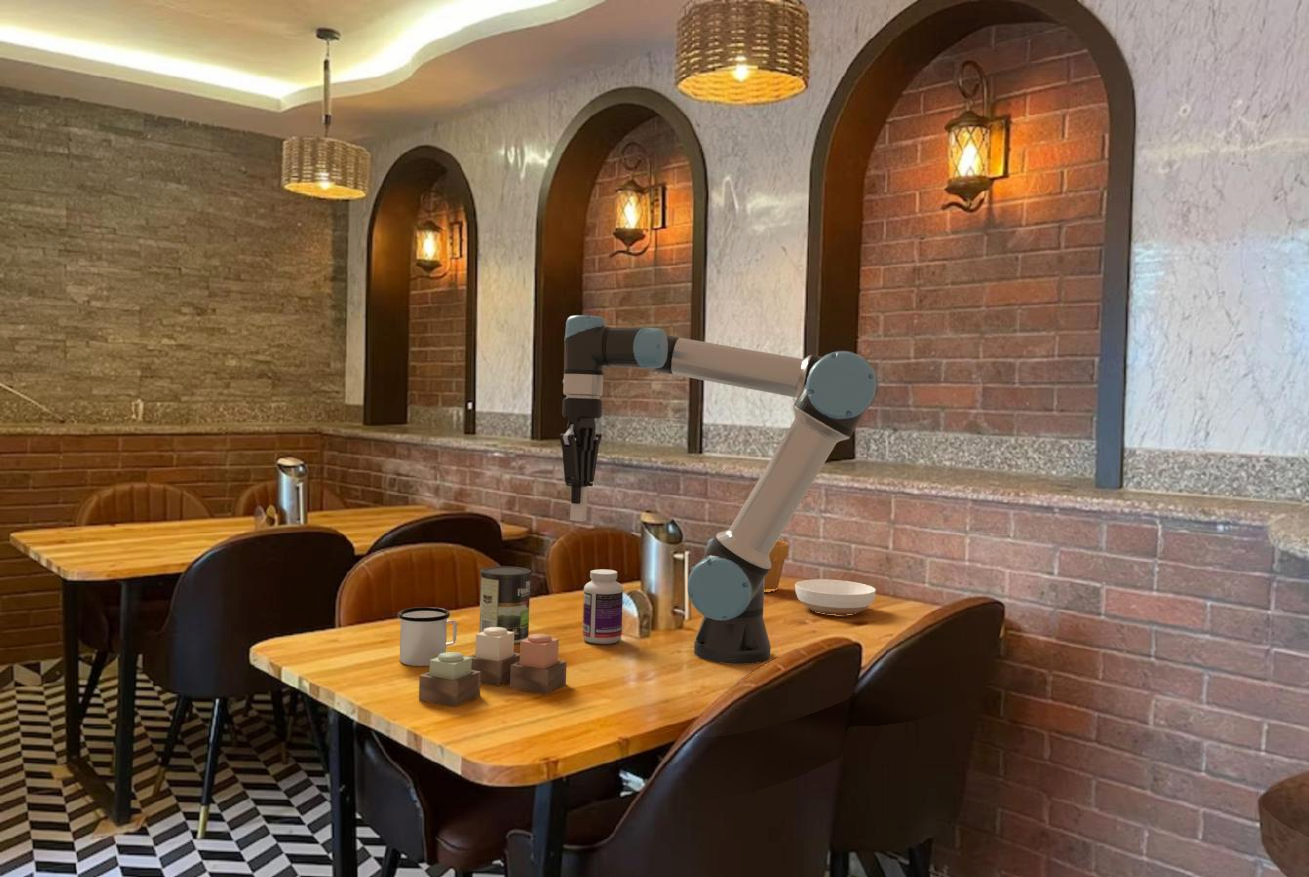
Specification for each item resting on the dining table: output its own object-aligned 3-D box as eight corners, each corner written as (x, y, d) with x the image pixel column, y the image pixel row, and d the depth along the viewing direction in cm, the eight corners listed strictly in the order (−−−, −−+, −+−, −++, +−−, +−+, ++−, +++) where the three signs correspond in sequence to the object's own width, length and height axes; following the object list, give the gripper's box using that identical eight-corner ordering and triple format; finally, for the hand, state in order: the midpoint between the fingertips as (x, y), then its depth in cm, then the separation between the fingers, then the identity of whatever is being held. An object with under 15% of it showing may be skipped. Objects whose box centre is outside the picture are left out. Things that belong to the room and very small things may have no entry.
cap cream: (513, 665, 171) (514, 628, 171) (498, 672, 167) (499, 634, 167) (490, 661, 173) (491, 625, 173) (474, 668, 169) (476, 630, 169)
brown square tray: (479, 695, 160) (480, 671, 160) (454, 706, 154) (455, 682, 154) (444, 688, 163) (445, 665, 163) (418, 699, 157) (419, 675, 156)
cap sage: (470, 693, 160) (471, 654, 159) (453, 701, 155) (454, 660, 155) (446, 689, 162) (447, 650, 161) (428, 696, 157) (429, 656, 157)
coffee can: (535, 634, 203) (537, 567, 202) (519, 646, 193) (521, 576, 192) (489, 630, 205) (491, 564, 204) (470, 642, 195) (472, 572, 194)
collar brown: (565, 683, 169) (566, 661, 168) (545, 694, 162) (546, 670, 162) (531, 677, 171) (531, 655, 171) (509, 688, 165) (510, 664, 165)
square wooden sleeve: (521, 676, 172) (522, 654, 172) (499, 686, 166) (500, 663, 166) (488, 670, 175) (488, 648, 175) (465, 680, 169) (466, 657, 168)
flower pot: (731, 592, 256) (733, 543, 256) (736, 583, 270) (738, 536, 270) (785, 596, 254) (788, 547, 254) (787, 586, 268) (789, 540, 268)
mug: (415, 670, 173) (416, 620, 173) (386, 659, 180) (387, 611, 179) (470, 659, 182) (471, 611, 182) (440, 649, 188) (442, 603, 188)
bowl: (885, 610, 241) (887, 586, 241) (857, 624, 224) (859, 598, 224) (812, 599, 251) (813, 576, 251) (780, 612, 235) (782, 586, 235)
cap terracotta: (557, 673, 168) (558, 635, 168) (543, 680, 163) (544, 641, 163) (533, 669, 170) (534, 631, 170) (519, 675, 165) (520, 637, 165)
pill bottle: (628, 639, 202) (630, 570, 201) (610, 647, 194) (612, 576, 194) (593, 634, 205) (596, 566, 205) (575, 642, 198) (577, 572, 197)
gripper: (581, 397, 192) (577, 515, 193) (548, 395, 180) (544, 522, 181) (615, 398, 189) (610, 518, 190) (583, 397, 177) (579, 525, 178)
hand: (578, 520), depth 186 cm, fingers closed
